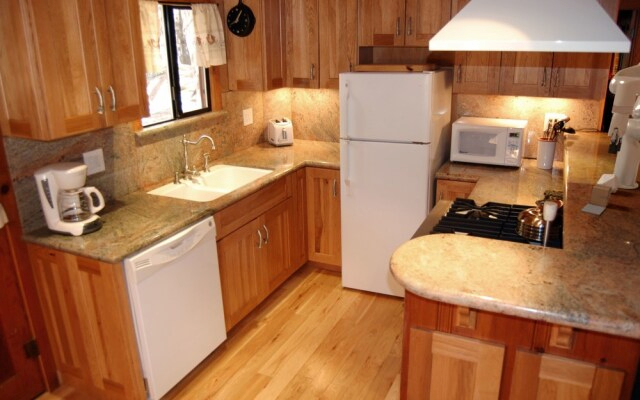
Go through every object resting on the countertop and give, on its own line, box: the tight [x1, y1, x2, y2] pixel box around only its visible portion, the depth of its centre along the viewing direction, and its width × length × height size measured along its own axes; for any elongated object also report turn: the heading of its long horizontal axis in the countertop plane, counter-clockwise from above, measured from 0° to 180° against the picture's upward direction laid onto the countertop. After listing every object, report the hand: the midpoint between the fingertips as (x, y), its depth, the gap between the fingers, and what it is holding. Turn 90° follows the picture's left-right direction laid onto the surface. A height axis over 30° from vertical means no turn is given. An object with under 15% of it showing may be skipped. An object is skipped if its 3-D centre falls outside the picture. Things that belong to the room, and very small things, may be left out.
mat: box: [580, 203, 606, 216], centre depth 212 cm, size 10×7×1 cm
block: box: [589, 183, 612, 208], centre depth 217 cm, size 6×6×8 cm
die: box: [596, 173, 622, 194], centre depth 232 cm, size 8×9×10 cm
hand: (614, 151), depth 217 cm, fingers open, 5 cm apart
